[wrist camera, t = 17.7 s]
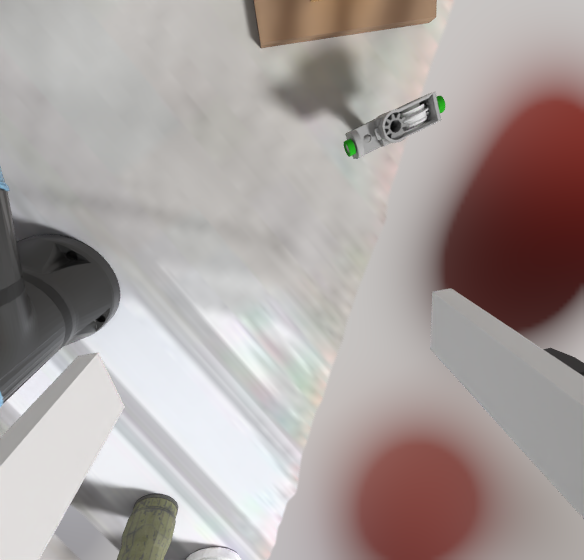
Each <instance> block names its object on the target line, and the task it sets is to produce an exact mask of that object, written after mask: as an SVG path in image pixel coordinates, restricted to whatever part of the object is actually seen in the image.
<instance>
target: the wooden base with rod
mask: <svg viewBox="0 0 584 560" xmlns="http://www.w3.org/2000/svg"><path fill="white" fill-rule="evenodd" d="M253 1H254V7H255V14H256V20H257V26H258V33H259V39H260V46H261V48H265V47H272V46H278V45H285V44H291V43H298V42H305V41H311V40H318V39H325V38H331V37H338V36H345V35H351V34H358V33H365V32H371V31H378V30H384V29H391V28H398V27H404V26H411V25H418V24H424V23H429V22H431V21H432V20H433V19H434V18H435V17H436V2H437V0H321V1H314V2H311V0H253Z"/></svg>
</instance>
